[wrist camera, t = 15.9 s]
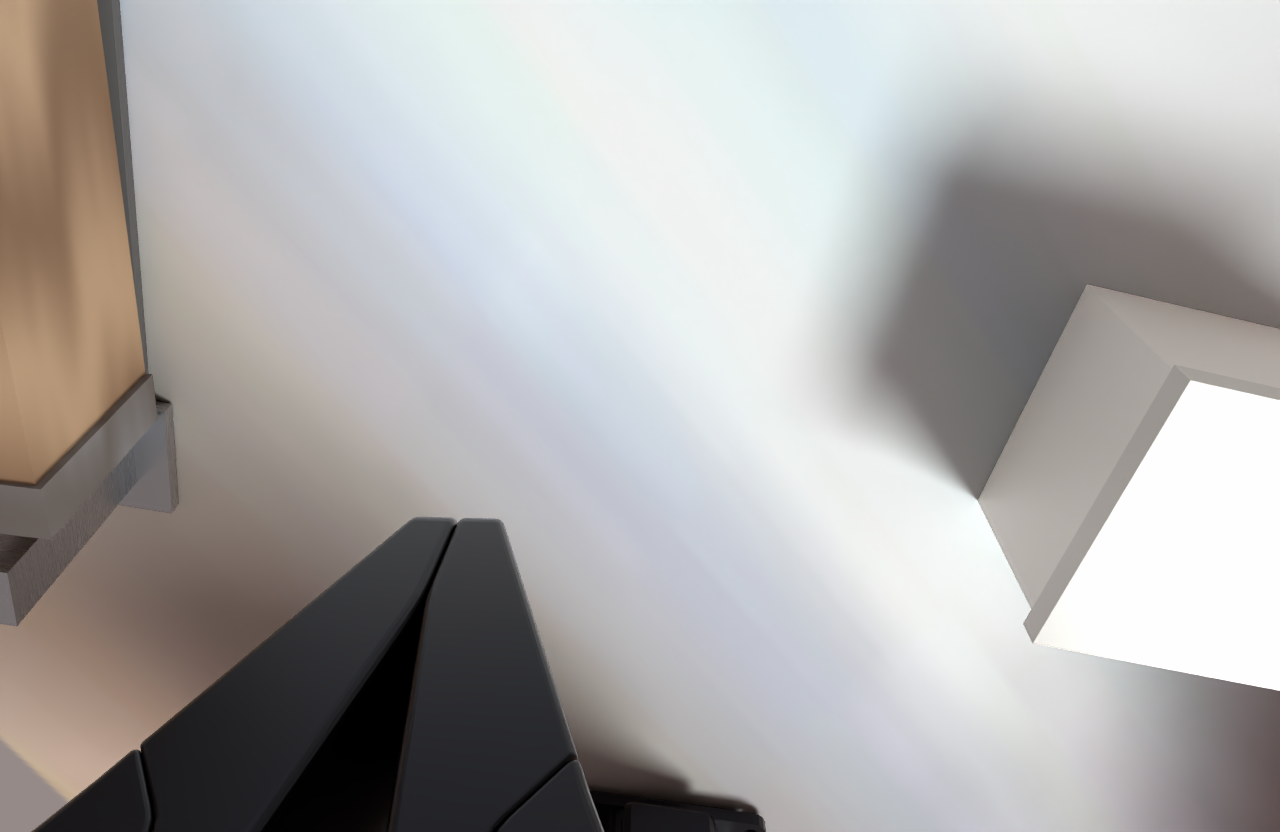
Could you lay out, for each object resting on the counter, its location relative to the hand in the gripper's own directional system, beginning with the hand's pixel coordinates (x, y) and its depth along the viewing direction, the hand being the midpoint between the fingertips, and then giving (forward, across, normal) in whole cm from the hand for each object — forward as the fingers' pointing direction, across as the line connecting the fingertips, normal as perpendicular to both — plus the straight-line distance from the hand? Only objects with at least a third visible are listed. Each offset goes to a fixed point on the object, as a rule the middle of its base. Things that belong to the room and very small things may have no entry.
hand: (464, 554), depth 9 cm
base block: (+13, -14, +6) cm, 19 cm away
